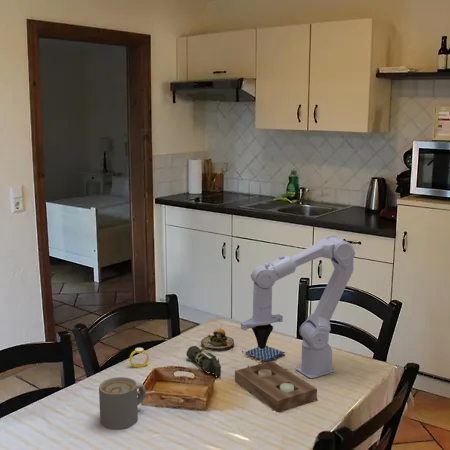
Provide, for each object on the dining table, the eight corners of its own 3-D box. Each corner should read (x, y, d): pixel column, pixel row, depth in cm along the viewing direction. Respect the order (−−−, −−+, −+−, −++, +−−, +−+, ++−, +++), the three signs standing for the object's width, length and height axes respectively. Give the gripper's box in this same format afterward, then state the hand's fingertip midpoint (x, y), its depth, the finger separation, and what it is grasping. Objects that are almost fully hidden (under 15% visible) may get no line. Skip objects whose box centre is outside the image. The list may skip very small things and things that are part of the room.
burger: (194, 345, 204) (194, 325, 203) (218, 337, 212) (218, 317, 211) (216, 355, 196) (216, 335, 194) (241, 346, 203) (241, 326, 202)
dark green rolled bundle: (198, 356, 194) (225, 377, 179) (185, 359, 192) (211, 380, 177) (198, 339, 193) (225, 358, 178) (185, 342, 191) (211, 361, 176)
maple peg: (266, 378, 177) (266, 367, 177) (273, 383, 174) (274, 372, 173) (255, 381, 175) (255, 370, 174) (263, 386, 172) (263, 375, 171)
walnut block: (271, 371, 183) (271, 360, 182) (316, 399, 165) (317, 388, 164) (234, 381, 176) (234, 370, 175) (277, 412, 158) (277, 400, 157)
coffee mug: (109, 433, 147) (107, 397, 145) (94, 417, 155) (93, 382, 153) (155, 418, 154) (155, 384, 152) (139, 403, 162) (138, 370, 160)
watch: (130, 369, 184) (130, 351, 183) (129, 365, 187) (128, 348, 185) (149, 367, 186) (148, 349, 185) (147, 363, 188) (147, 346, 187)
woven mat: (262, 348, 202) (262, 343, 202) (286, 357, 195) (286, 351, 195) (242, 357, 195) (242, 351, 194) (266, 366, 188) (266, 360, 187)
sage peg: (288, 393, 168) (288, 381, 167) (296, 398, 165) (296, 387, 164) (277, 396, 166) (277, 385, 165) (285, 402, 163) (285, 390, 162)
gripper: (273, 298, 182) (272, 338, 184) (235, 305, 174) (234, 347, 177) (287, 304, 176) (286, 345, 178) (248, 312, 168) (247, 355, 171)
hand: (261, 347), depth 177 cm, fingers closed
